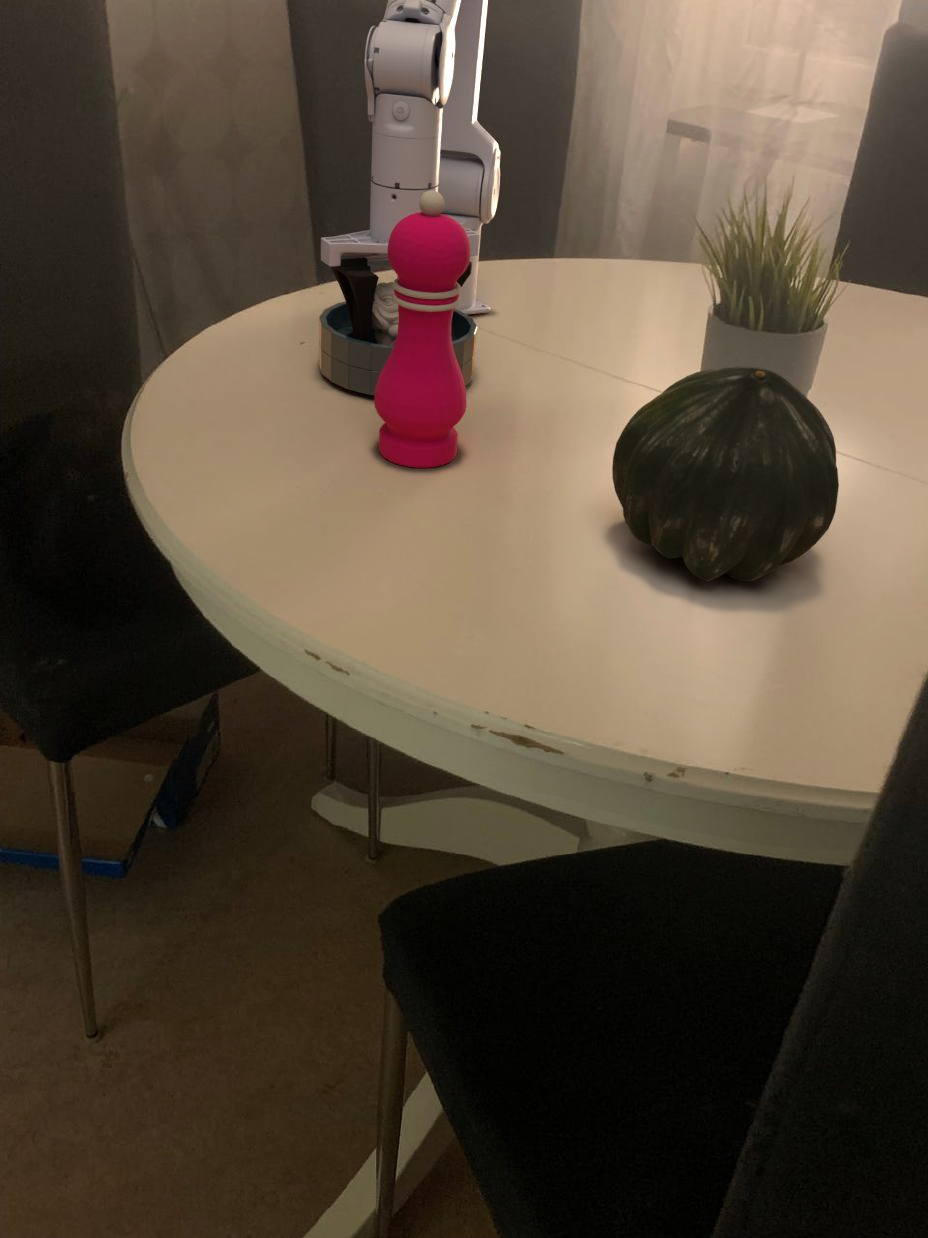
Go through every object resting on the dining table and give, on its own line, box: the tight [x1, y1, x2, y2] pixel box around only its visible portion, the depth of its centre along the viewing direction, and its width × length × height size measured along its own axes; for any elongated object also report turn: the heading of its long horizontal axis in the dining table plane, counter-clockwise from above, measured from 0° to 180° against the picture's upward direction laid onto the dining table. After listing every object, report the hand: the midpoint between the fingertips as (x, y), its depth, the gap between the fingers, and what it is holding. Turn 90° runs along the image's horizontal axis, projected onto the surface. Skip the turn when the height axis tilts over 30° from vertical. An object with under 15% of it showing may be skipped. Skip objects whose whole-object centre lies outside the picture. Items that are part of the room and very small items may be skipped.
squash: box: [611, 365, 840, 582], centre depth 73 cm, size 14×15×15 cm
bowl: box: [318, 300, 478, 396], centre depth 99 cm, size 14×14×5 cm
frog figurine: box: [372, 281, 399, 346], centre depth 98 cm, size 6×7×7 cm
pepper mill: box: [373, 190, 470, 469], centre depth 81 cm, size 7×7×20 cm
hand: (398, 338), depth 99 cm, fingers closed on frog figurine, 7 cm apart
